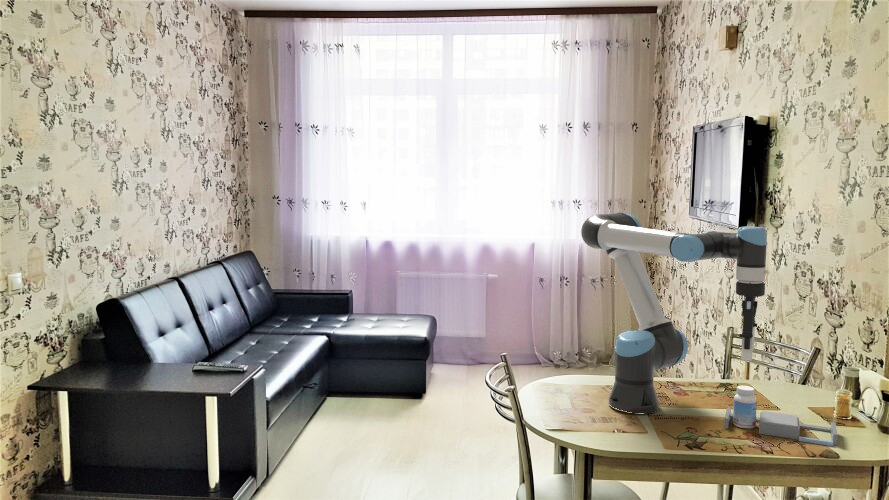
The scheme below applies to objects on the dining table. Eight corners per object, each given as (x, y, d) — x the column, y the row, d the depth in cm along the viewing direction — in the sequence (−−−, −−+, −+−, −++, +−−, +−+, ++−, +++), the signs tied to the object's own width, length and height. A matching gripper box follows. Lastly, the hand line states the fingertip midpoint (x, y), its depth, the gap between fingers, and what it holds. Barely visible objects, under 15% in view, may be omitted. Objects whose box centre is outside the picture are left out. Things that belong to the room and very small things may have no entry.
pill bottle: (758, 429, 188) (759, 391, 187) (735, 428, 189) (736, 390, 188) (752, 422, 194) (754, 385, 192) (730, 420, 195) (732, 384, 194)
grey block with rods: (723, 429, 188) (724, 417, 188) (727, 414, 200) (727, 403, 199) (837, 446, 176) (838, 433, 175) (834, 430, 187) (834, 418, 187)
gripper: (764, 288, 174) (760, 367, 176) (766, 276, 196) (763, 345, 198) (733, 286, 177) (730, 363, 180) (738, 274, 199) (736, 343, 202)
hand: (747, 354), depth 189 cm, fingers open, 13 cm apart
